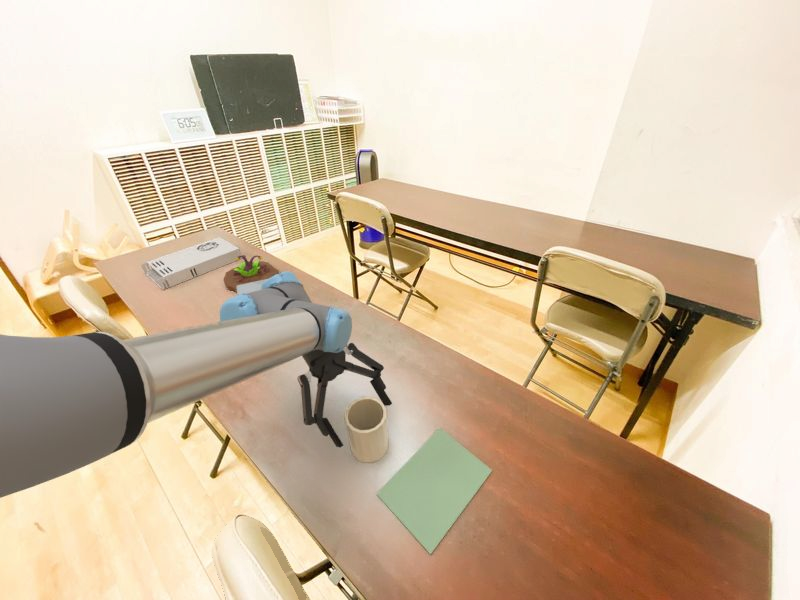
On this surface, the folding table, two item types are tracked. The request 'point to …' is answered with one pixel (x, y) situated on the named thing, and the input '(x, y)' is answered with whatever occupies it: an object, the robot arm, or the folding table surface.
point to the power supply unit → (191, 262)
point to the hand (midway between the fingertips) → (365, 424)
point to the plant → (248, 272)
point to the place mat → (434, 488)
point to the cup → (367, 429)
